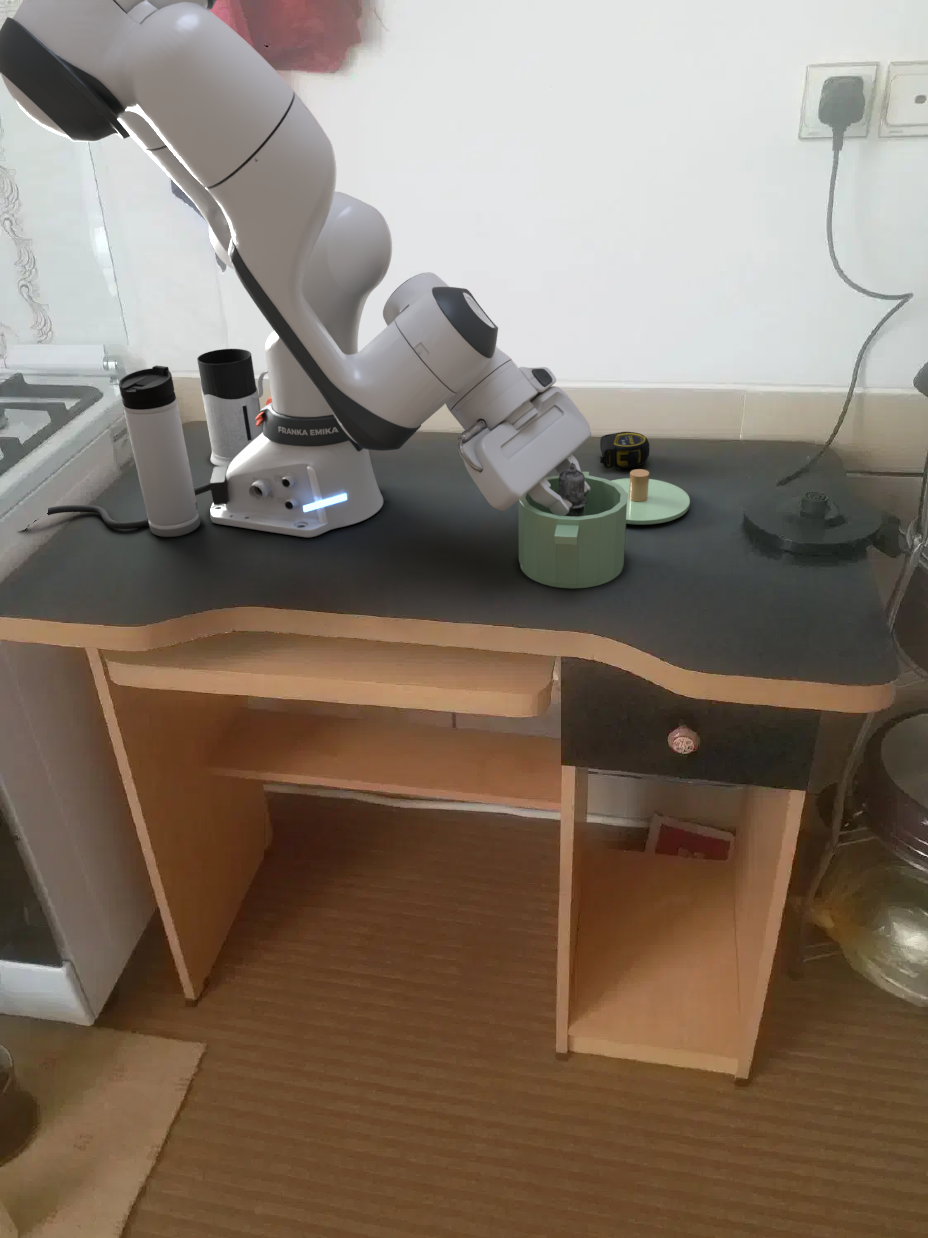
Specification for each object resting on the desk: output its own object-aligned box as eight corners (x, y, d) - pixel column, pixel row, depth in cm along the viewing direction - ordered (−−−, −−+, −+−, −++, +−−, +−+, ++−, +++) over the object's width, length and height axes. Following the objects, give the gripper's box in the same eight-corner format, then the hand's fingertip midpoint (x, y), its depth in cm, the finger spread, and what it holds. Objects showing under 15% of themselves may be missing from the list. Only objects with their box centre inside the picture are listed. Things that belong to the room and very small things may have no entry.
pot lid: (583, 526, 122) (584, 491, 120) (590, 484, 133) (591, 451, 131) (690, 531, 120) (693, 496, 118) (688, 488, 131) (691, 454, 129)
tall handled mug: (234, 442, 152) (218, 344, 144) (312, 454, 146) (300, 354, 138) (198, 462, 145) (179, 361, 137) (278, 476, 139) (263, 372, 132)
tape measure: (599, 454, 142) (600, 429, 140) (647, 454, 142) (648, 429, 140) (599, 473, 136) (600, 447, 135) (649, 473, 136) (651, 447, 134)
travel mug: (212, 519, 128) (184, 367, 118) (179, 541, 123) (147, 384, 113) (173, 512, 130) (142, 362, 120) (140, 533, 125) (104, 378, 115)
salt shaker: (590, 573, 111) (595, 475, 105) (538, 568, 112) (541, 471, 106) (597, 549, 116) (602, 454, 110) (547, 545, 117) (550, 450, 111)
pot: (509, 597, 108) (508, 527, 104) (529, 527, 123) (529, 463, 118) (619, 604, 106) (623, 533, 102) (626, 532, 121) (630, 467, 116)
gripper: (469, 423, 99) (555, 530, 100) (555, 363, 114) (629, 456, 115) (433, 456, 104) (515, 558, 105) (520, 394, 118) (591, 484, 120)
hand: (575, 504), depth 110 cm, fingers closed on salt shaker, 3 cm apart
